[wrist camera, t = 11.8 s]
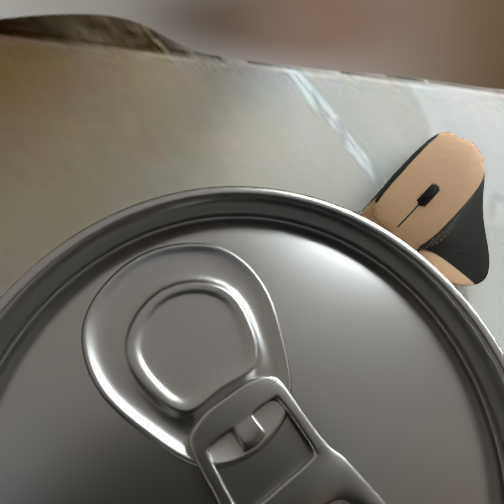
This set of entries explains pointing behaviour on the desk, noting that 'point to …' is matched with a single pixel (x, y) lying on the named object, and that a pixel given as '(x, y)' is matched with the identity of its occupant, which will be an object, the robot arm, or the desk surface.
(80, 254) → the can
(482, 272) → the computer mouse
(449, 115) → the desk surface
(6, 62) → the desk surface
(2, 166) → the desk surface
